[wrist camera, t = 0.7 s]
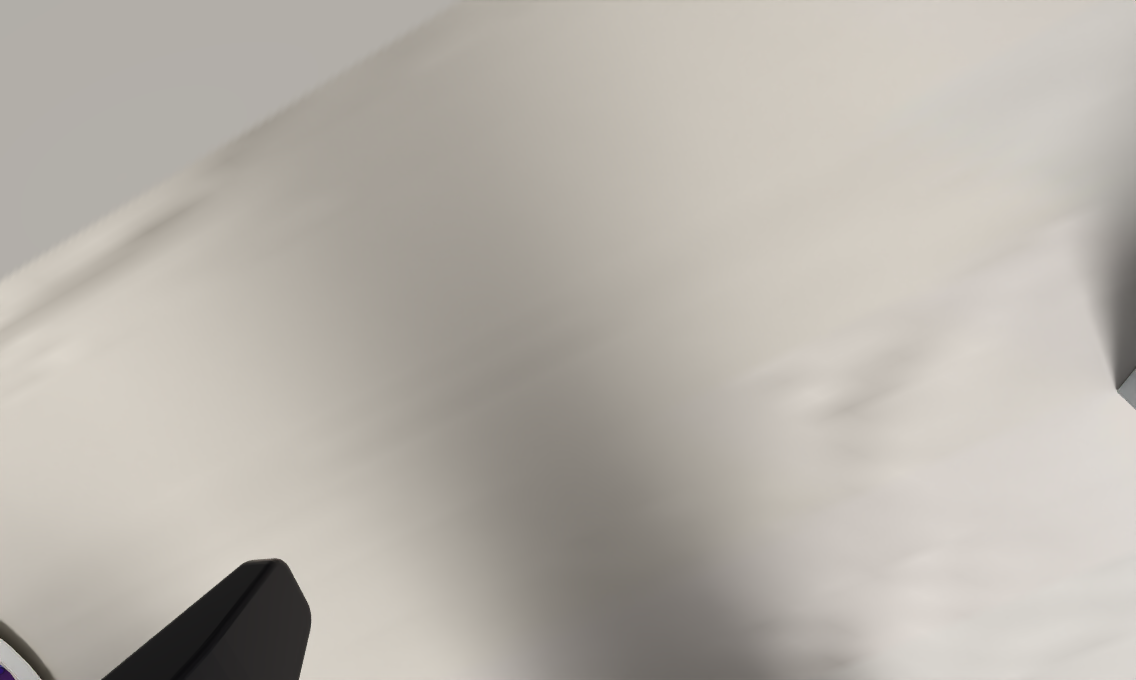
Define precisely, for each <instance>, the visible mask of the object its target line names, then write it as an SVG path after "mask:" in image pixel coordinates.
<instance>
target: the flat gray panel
mask: <svg viewBox="0 0 1136 680" xmlns="http://www.w3.org/2000/svg"><path fill="white" fill-rule="evenodd" d="M1117 392H1118V393H1119V394H1120V395H1121V396H1122V397H1123V398H1124V399H1125V400H1126V401H1127V402H1128V403H1129V404H1130V405H1131V406H1132V407H1134V408H1135V409H1136V369H1135V370H1134V371H1133V372H1132V373H1131V375H1130V376H1129V377H1128V378H1127V380H1126V381H1125V382H1124V383H1123V385H1122V386H1121V387H1120V388H1119V390H1118V391H1117Z"/></svg>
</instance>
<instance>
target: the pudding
mask: <svg viewBox="0 0 1136 680" xmlns="http://www.w3.org/2000/svg"><path fill="white" fill-rule="evenodd" d="M0 661H1V662H2V663H3V664H4V665H5V666H6V667H7V668H8V669H9V670H10V671H11V672H12V673H13V674H14V676H15V677H16V678H17V679H18V680H41V679H40V677H39V676H38V675H37V674H36V672H35V671H34V670H33V669H32V667H31V666H30V665H29V664H28V663H27V662H26V661H25V660H24V659H23V658H22V657H21V656H20V655H19V654H18V653H17V652H16V651H15V650H14V649H13V648H12V647H11V646H10V645H9V644H7V643H6V642H5V641H3V640H2V639H1V638H0ZM0 680H15V679H14V678H13V676H12V675H11V673H10V672H8V671H7V670H6V669H5V668H4V667H2V666H1V665H0Z"/></svg>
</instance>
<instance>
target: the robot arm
mask: <svg viewBox="0 0 1136 680" xmlns="http://www.w3.org/2000/svg"><path fill="white" fill-rule="evenodd" d="M310 628H311V612H310V608H309V605H308V602H307V601H306V599H305V597H304V595H303V593H302V591H301V589H300V587H299V585H298V584H297V582H296V580H295V578H294V576H293V574H292V572H291V570H290V568H289V567H288V565H287V564H286V563H285V562H284V561H282V560H281V559H277V558H274V559H260V560H251V561H247V562H245V563H243V564H242V565H240V566H239V567H238V568H237V569H235V570H234V571H233V572H232V573H231V574H229V575H228V576H227V577H226V578H224V579H223V580H222V581H221V582H220V583H218V584H217V585H216V586H215V587H214V588H212V589H211V590H210V591H209V592H207V593H206V594H205V595H204V596H203V597H201V598H200V599H199V600H198V601H196V602H195V603H194V604H193V605H192V606H190V607H189V608H188V609H187V610H186V611H184V612H183V613H182V614H181V615H179V616H178V617H177V618H176V619H175V620H173V621H172V622H171V623H170V624H168V625H167V626H166V627H165V628H164V629H162V630H161V631H160V632H159V633H157V634H156V635H155V636H154V637H153V638H151V639H150V640H149V641H148V642H147V643H145V644H144V645H143V646H142V647H140V648H139V649H138V650H137V651H136V652H134V653H133V654H132V655H131V656H129V657H128V658H127V659H126V660H125V661H123V662H122V663H121V664H120V665H118V666H117V667H116V668H115V669H114V670H112V671H111V672H110V673H109V674H108V675H106V676H105V677H104V678H103V679H101V680H299V677H300V672H301V668H302V664H303V659H304V655H305V651H306V646H307V642H308V637H309V633H310Z"/></svg>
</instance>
